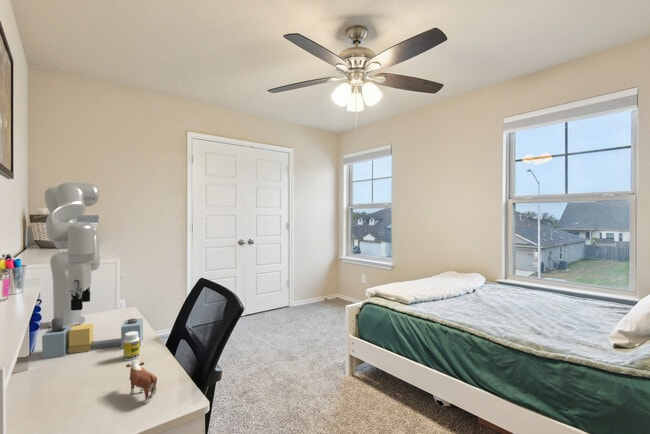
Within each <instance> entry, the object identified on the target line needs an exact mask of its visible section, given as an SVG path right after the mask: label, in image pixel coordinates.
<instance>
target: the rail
mask: <svg viewBox="0 0 650 434" xmlns="http://www.w3.org/2000/svg"><path fill="white" fill-rule="evenodd" d="M118 347H119V348H120V347H121V337H120V338H113V339H111V338H110V339H102V340H95V341H94V340H93V342H91V344H90V351H96V350H102V349H105V350H106V349H111V348H118ZM66 354H70V353H69V345H68V347H67V353H66Z"/></svg>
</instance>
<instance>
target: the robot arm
mask: <svg viewBox="0 0 650 434" xmlns="http://www.w3.org/2000/svg"><path fill="white" fill-rule="evenodd" d="M99 199H100V193H99V189H98V187H97V186H96V185H95V184H93V183H86V182H85V183H83V182H82V183H81V182H63V183H60V184H59V185H57V186H54V187H49V188H47V189H45V191H44V202H45V204H46V208H47V210H48V212H49V214H48V215H47V218H46V222H45V226H46V227H45V228H46V234H47V235H46V236H47V238H48V240H49V241H50V242H51V243H53V244H54V246H55V248H56V249H60V250H67V251H62V252H61V251H60V252H57V253H55V254H53V255H51V258H50V259H49V262H50V263H49V265H50V271H51V276H52V297H53V298H52V299H53V300H52V301H53V302H52V304H53V306H52V309H53V318H52V319H55V318H63V326H72V327H73V326H75V325H78V324H79V325H82V324H83V323H84V322H86V318H85V316H82V310H83V307H84V306H83V303H87V302H88V303H89V302H90V301H91V287H90V286H91V285H92V272H94V271H97V270H98V269H99V267H100V263H101V261H100V260H101V259H100V257H101V256H100V247H99V235H98V232H97V230H96V226H95V225H94V224H93V223H92V222H89V221H78V219H77V218H80V217H81V216H82V215H84V213H85V211H86V207H93V206H94V205H96V203H98V201H99ZM48 327H49V328H50V327H51V328H52V321H50V322H49V323H48Z"/></svg>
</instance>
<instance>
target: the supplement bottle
mask: <svg viewBox="0 0 650 434" xmlns="http://www.w3.org/2000/svg"><path fill="white" fill-rule="evenodd" d="M139 341H140V339H139V337H138V332H137V331H131V332H128V333H126V334H125V340H124V349H123V360H125V361H134V360H137V358H139V357H140V347H139Z"/></svg>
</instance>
